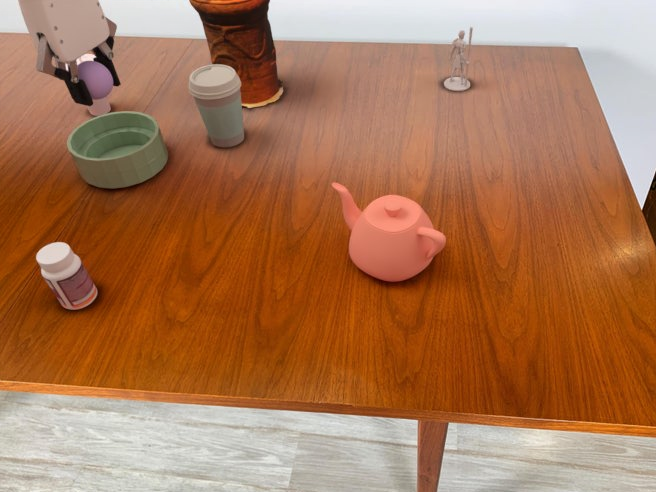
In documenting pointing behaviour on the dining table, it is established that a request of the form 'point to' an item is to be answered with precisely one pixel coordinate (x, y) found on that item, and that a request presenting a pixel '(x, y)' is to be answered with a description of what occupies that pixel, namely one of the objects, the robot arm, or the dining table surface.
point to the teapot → (390, 236)
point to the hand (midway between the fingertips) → (98, 92)
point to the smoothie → (98, 105)
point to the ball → (96, 79)
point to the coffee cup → (219, 103)
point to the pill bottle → (66, 276)
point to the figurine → (459, 64)
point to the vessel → (243, 45)
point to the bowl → (118, 149)
